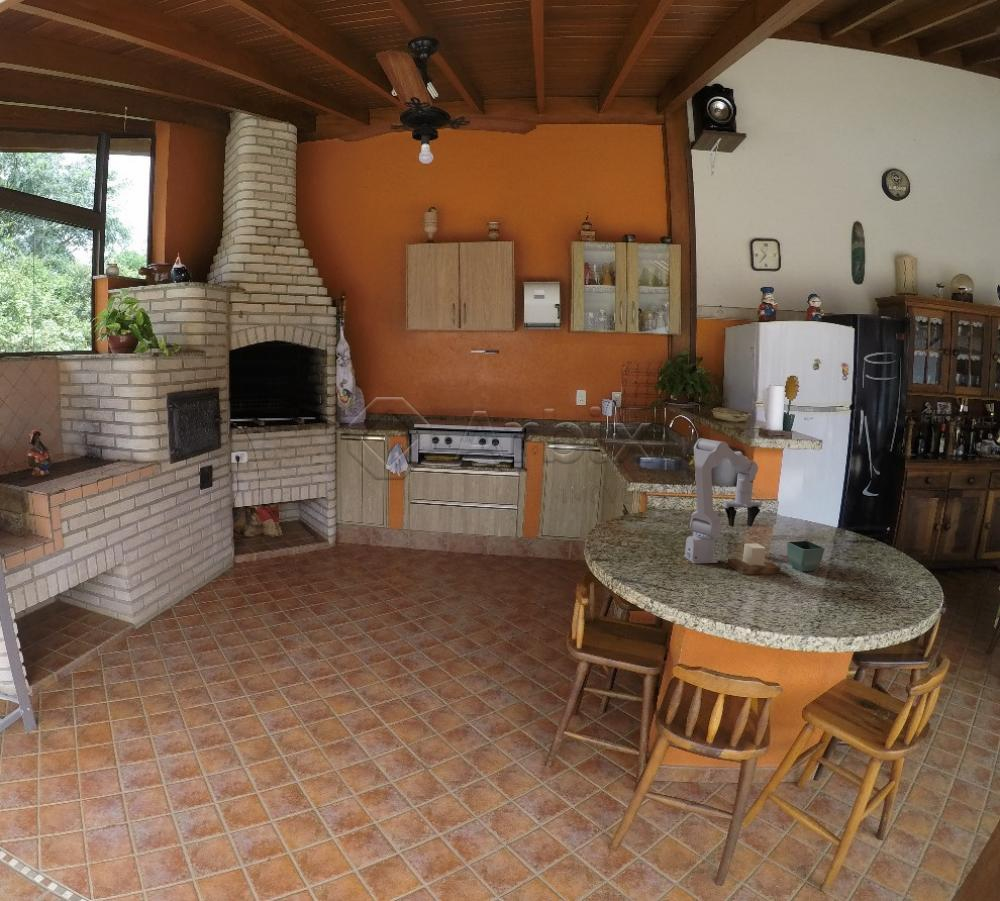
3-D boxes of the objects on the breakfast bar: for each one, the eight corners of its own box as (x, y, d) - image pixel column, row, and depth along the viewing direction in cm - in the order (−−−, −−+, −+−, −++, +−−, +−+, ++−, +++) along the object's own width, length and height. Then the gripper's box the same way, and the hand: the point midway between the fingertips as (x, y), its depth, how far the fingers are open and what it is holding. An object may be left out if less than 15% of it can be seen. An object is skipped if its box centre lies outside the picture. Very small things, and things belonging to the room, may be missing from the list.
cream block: (750, 564, 218) (752, 548, 217) (742, 559, 223) (744, 543, 222) (763, 564, 219) (765, 548, 218) (755, 559, 224) (757, 543, 223)
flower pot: (801, 574, 217) (804, 549, 215) (783, 565, 225) (786, 541, 224) (822, 572, 219) (825, 548, 218) (804, 564, 228) (807, 540, 226)
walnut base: (742, 574, 215) (743, 568, 215) (727, 564, 225) (727, 558, 224) (779, 573, 217) (780, 567, 217) (762, 563, 227) (763, 557, 227)
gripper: (732, 493, 232) (728, 529, 235) (767, 493, 235) (763, 528, 237) (722, 489, 239) (718, 523, 241) (756, 489, 242) (753, 523, 244)
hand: (740, 525), depth 240 cm, fingers open, 7 cm apart
